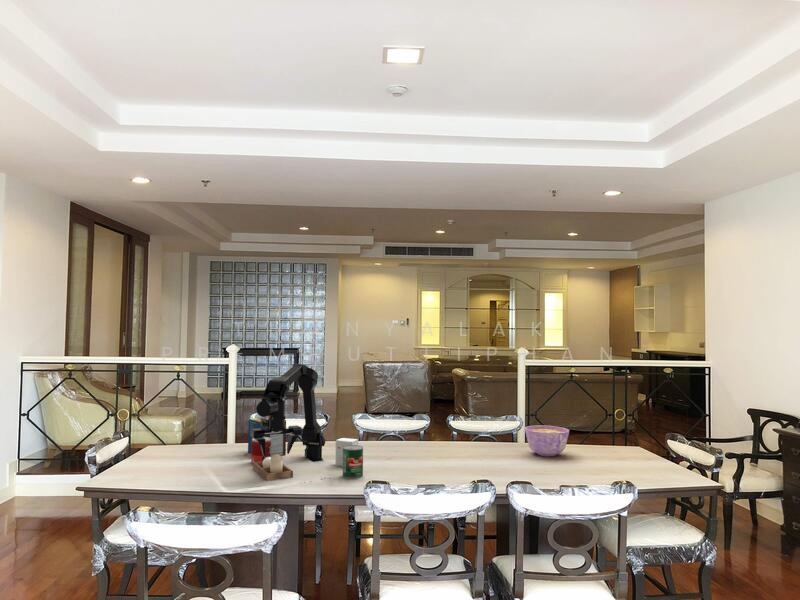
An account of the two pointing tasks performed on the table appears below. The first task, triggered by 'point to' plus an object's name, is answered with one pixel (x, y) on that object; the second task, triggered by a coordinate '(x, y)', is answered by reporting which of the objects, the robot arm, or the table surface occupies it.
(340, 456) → the small box
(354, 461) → the canned tomato
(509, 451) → the table surface
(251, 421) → the protein box
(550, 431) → the bowl of food
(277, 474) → the crate
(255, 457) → the canned food
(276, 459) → the cylinder
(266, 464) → the ball
